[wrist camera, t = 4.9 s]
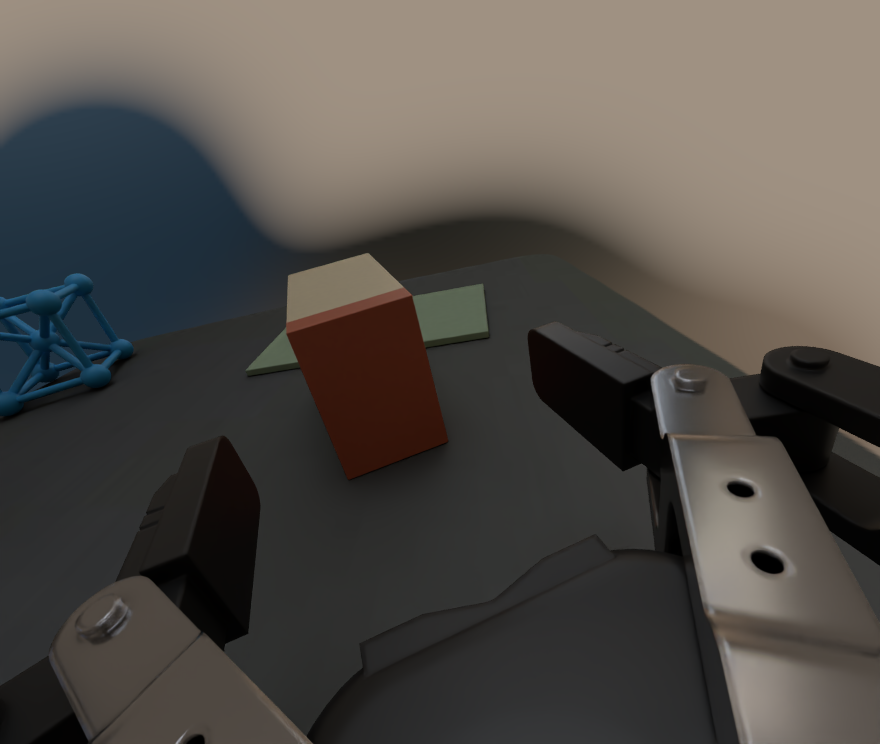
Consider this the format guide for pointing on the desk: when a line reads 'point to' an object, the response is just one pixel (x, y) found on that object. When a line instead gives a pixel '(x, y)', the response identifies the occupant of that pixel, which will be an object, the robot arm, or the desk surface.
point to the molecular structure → (55, 343)
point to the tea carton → (364, 362)
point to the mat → (438, 318)
